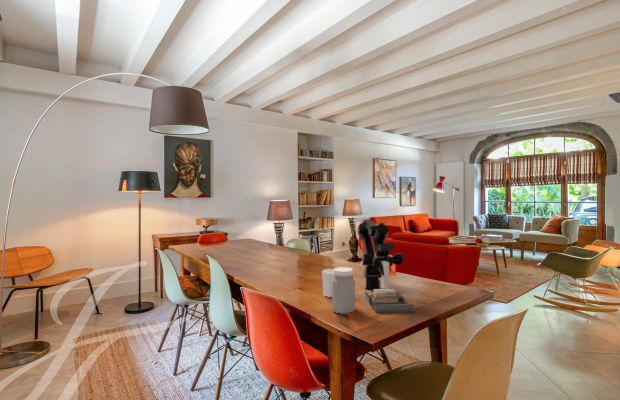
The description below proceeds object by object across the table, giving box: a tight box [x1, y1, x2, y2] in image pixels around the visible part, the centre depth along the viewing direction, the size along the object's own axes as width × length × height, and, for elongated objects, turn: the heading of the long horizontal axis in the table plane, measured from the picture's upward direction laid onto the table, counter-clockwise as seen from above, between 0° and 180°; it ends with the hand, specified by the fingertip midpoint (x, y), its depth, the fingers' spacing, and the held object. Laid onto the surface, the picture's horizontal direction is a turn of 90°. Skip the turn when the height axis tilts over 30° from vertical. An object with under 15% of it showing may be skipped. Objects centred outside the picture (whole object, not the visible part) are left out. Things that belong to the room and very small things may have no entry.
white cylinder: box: [321, 268, 335, 298], centre depth 162 cm, size 10×10×12 cm
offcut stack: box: [370, 288, 398, 303], centre depth 151 cm, size 7×11×4 cm, turn 93°
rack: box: [364, 291, 415, 314], centre depth 146 cm, size 20×16×4 cm
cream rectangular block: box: [381, 261, 390, 290], centre depth 149 cm, size 4×2×12 cm, turn 3°
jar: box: [331, 266, 356, 315], centre depth 140 cm, size 10×10×18 cm
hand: (386, 275), depth 148 cm, fingers closed on cream rectangular block, 2 cm apart
